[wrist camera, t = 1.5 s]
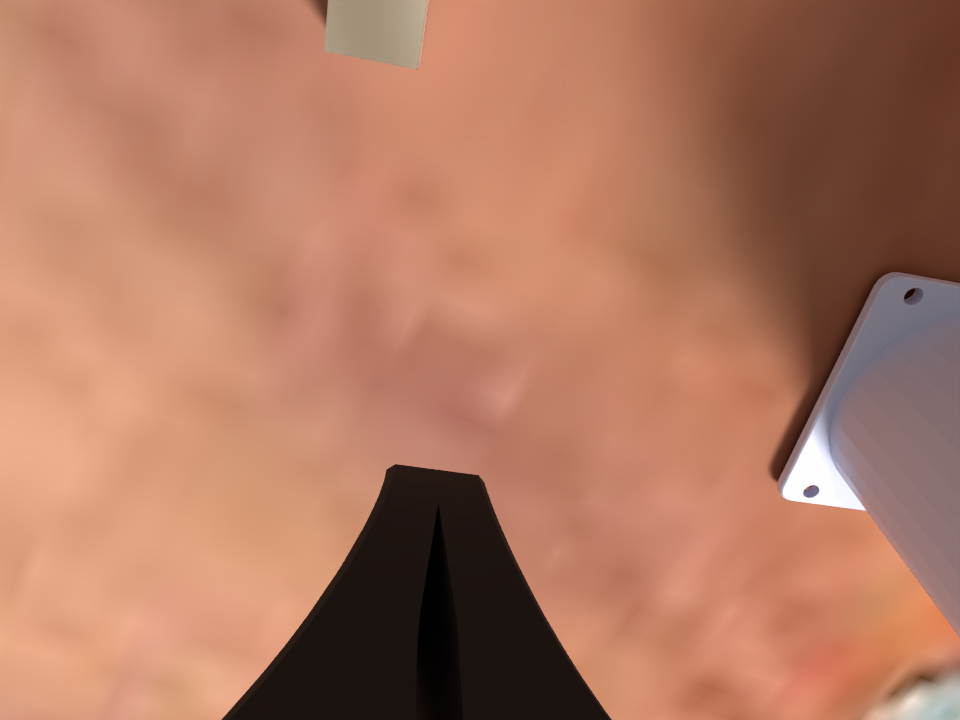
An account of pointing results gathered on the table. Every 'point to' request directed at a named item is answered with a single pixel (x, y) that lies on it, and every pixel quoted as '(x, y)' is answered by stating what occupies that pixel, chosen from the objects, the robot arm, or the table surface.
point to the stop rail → (377, 30)
